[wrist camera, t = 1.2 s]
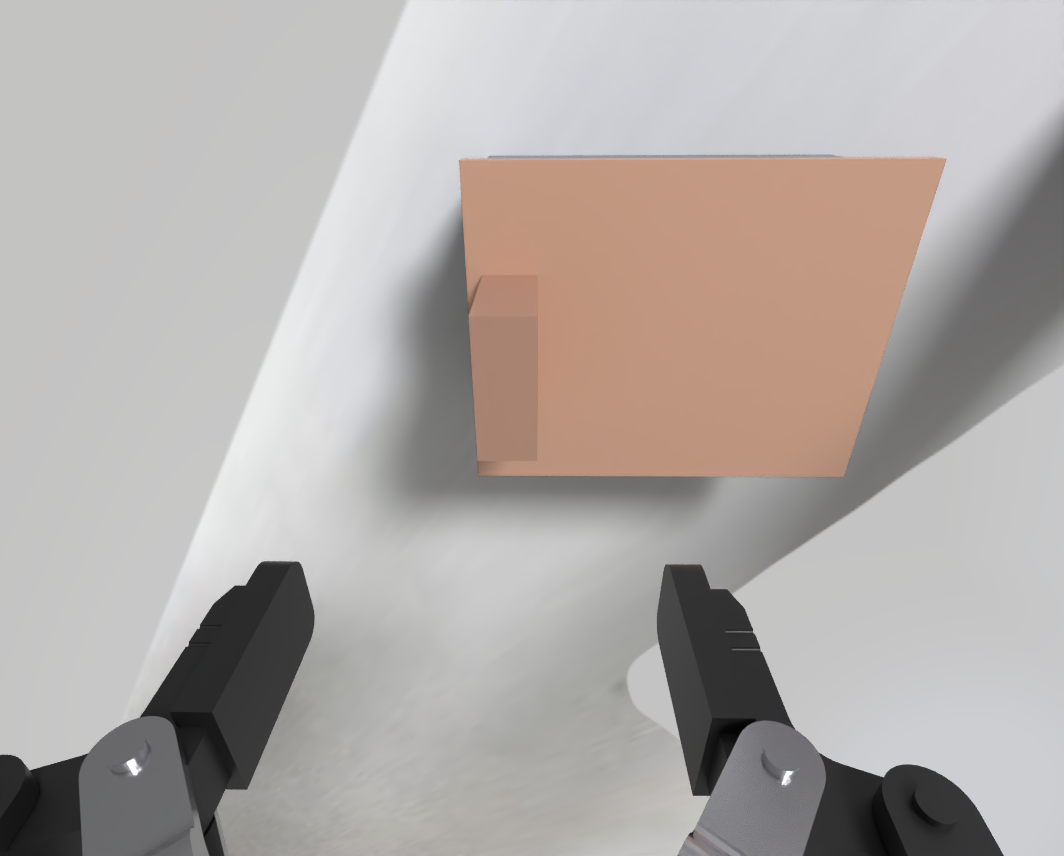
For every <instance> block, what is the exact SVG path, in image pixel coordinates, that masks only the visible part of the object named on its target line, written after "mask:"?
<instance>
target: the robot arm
mask: <svg viewBox="0 0 1064 856" xmlns="http://www.w3.org/2000/svg"><path fill="white" fill-rule="evenodd" d="M313 628H314V609H313V605H312V601H311V598H310V594H309V590H308V587H307V583H306V579H305V576H304V572H303V568H302V566H301V564H300V563H299V562H287V561H264V562H261V563H260V564H259V565H258V566H257V568H256V569H255V571H254V573H253V574H252V576H251V578H250V579H249V581H248V583H247V584H246V586H234V587H233V588H232V589H231V590H229V591H228V592H227V593H226V594H225V595H223V596H222V597H221V598H220V599H219V600H218V601H216V602H215V603H214V604H213V606H212V607H211V609H210V610H209V612H208V613H207V615H206V617H205V618H204V620H203V621H202V623H201V624H200V629H197V630H196V632H195V634H194V635H193V637H192V638H191V640H190V641H189V646H188V647H185V649H184V651H183V652H182V654H181V655H180V657H179V658H178V660H177V661H176V663H175V664H174V666H173V668H172V669H171V671H170V672H169V674H168V675H167V677H166V678H165V680H164V681H163V683H162V685H161V686H160V688H159V689H158V691H157V692H156V694H155V695H154V697H153V698H152V700H151V702H150V703H149V705H148V706H147V708H146V709H145V711H144V712H143V714H142V715H141V716H140V718H137V719H134V720H131V721H129V722H126V723H124V724H122V725H120V726H119V727H117V728H115V729H114V730H112V731H111V732H109V733H108V734H107V735H105V736H104V737H103V738H102V739H101V740H100V741H99V742H98V743H97V744H96V745H95V746H94V747H93V748H92V749H91V751H90V752H89V753H88V754H85V755H82V756H79V757H75V758H72V759H68V760H65V761H61V762H58V763H54V764H51V765H47V766H44V767H40V768H37V769H33V770H30V771H29V769H28V768H27V767H26V765H25V764H24V763H23V762H22V760H21V759H19V758H18V757H16V756H12V755H0V856H229V855H228V851H227V847H226V843H225V839H224V835H223V831H222V827H221V823H220V819H219V815H218V812H217V810H216V808H217V806H218V804H219V802H220V800H221V797H222V795H223V793H224V791H225V789H244V790H247V789H248V786H249V784H250V782H251V779H252V777H253V774H254V772H255V770H256V767H257V765H258V763H259V760H260V758H261V756H262V753H263V751H264V748H265V746H266V744H267V741H268V739H269V737H270V734H271V732H272V730H273V727H274V725H275V722H276V720H277V718H278V715H279V713H280V711H281V708H282V706H283V704H284V701H285V699H286V697H287V694H288V692H289V689H290V687H291V685H292V682H293V680H294V678H295V675H296V673H297V671H298V668H299V666H300V663H301V661H302V659H303V656H304V654H305V652H306V649H307V647H308V645H309V642H310V640H311V637H312V633H313ZM657 633H658V640H659V645H660V650H661V654H662V659H663V663H664V667H665V672H666V677H667V681H668V685H669V690H670V695H671V699H672V704H673V708H674V713H675V717H676V722H677V726H678V731H679V735H680V740H681V744H682V749H683V753H684V758H685V762H686V767H687V771H688V776H689V780H690V785H691V789H692V794H693V796H710V798H709V800H708V802H707V804H706V806H705V809H704V811H703V813H702V815H701V817H700V819H699V821H698V823H697V825H696V827H695V829H694V831H693V832H692V833H690V834H689V835H688V837H687V838H686V840H685V842H684V844H683V845H682V847H681V849H680V851H679V853H678V855H677V856H1004V855H1003V854H1002V852H1001V850H1000V848H999V846H998V845H997V843H996V841H995V839H994V837H993V836H992V834H991V832H990V830H989V829H988V827H987V825H986V823H985V822H984V820H983V818H982V816H981V814H980V813H979V811H978V810H977V808H976V806H975V805H974V804H973V802H972V801H971V800H970V799H969V798H968V796H967V795H966V794H965V793H964V792H963V791H962V790H961V789H960V788H959V787H957V786H956V785H955V784H954V783H952V782H951V781H950V780H948V779H947V778H945V777H944V776H942V775H940V774H938V773H936V772H935V771H932V770H930V769H927V768H924V767H921V766H917V765H899V766H896V767H894V768H892V769H890V770H889V771H888V772H887V773H886V775H885V776H884V778H883V777H880V776H877V775H874V774H871V773H867V772H864V771H861V770H858V769H855V768H852V767H849V766H846V765H843V764H840V763H838V762H835V761H832V760H831V759H829V758H827V757H825V756H823V755H822V754H820V753H818V751H817V750H816V749H815V747H814V746H813V745H812V744H811V742H810V741H809V740H808V739H807V738H806V737H804V736H803V735H802V734H801V733H799V732H798V731H796V730H795V728H794V727H793V725H792V724H791V721H790V719H789V717H788V715H787V712H786V710H785V707H784V705H783V702H782V700H781V697H780V695H779V693H778V690H777V688H776V685H775V683H774V680H773V678H772V675H771V673H770V670H769V668H768V666H767V663H766V660H765V658H764V656H763V653H762V652H761V651H760V646H759V643H758V641H757V638H756V636H755V634H753V628H752V626H751V624H750V621H749V619H748V616H747V614H746V611H745V609H744V608H743V606H742V605H741V604H740V603H739V602H738V601H737V600H736V599H735V598H734V597H733V596H732V594H731V593H730V592H729V591H728V590H727V589H710V586H709V584H708V581H707V578H706V575H705V572H704V570H703V568H702V566H701V565H665V568H664V572H663V579H662V585H661V592H660V599H659V605H658V612H657Z"/></svg>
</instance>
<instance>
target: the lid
mask: <svg viewBox="0 0 1064 856" xmlns="http://www.w3.org/2000/svg"><path fill="white" fill-rule="evenodd" d="M945 162H946V159H944V158H937V157H808V158H508V159H460V160H459V166H460V182H461V198H462V215H463V231H464V247H465V264H466V280H467V296H468V313H469V316H468V317H469V333H470V350H471V366H472V382H473V399H474V415H475V431H476V447H477V461H478V476H689V477H844V475H845V472H846V469H847V465H848V462H849V459H850V456H851V453H852V450H853V447H854V444H855V441H856V438H857V435H858V431H859V428H860V425H861V422H862V419H863V416H864V413H865V410H866V407H867V404H868V401H869V397H870V394H871V391H872V388H873V385H874V382H875V379H876V376H877V373H878V370H879V366H880V363H881V360H882V357H883V354H884V351H885V348H886V345H887V342H888V339H889V336H890V332H891V329H892V326H893V323H894V320H895V317H896V314H897V311H898V308H899V305H900V302H901V298H902V295H903V292H904V289H905V286H906V283H907V280H908V277H909V274H910V271H911V268H912V264H913V261H914V258H915V255H916V252H917V249H918V246H919V243H920V240H921V237H922V233H923V230H924V227H925V224H926V221H927V218H928V215H929V212H930V209H931V206H932V203H933V199H934V196H935V193H936V190H937V187H938V184H939V181H940V178H941V175H942V172H943V169H944V165H945Z"/></svg>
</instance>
